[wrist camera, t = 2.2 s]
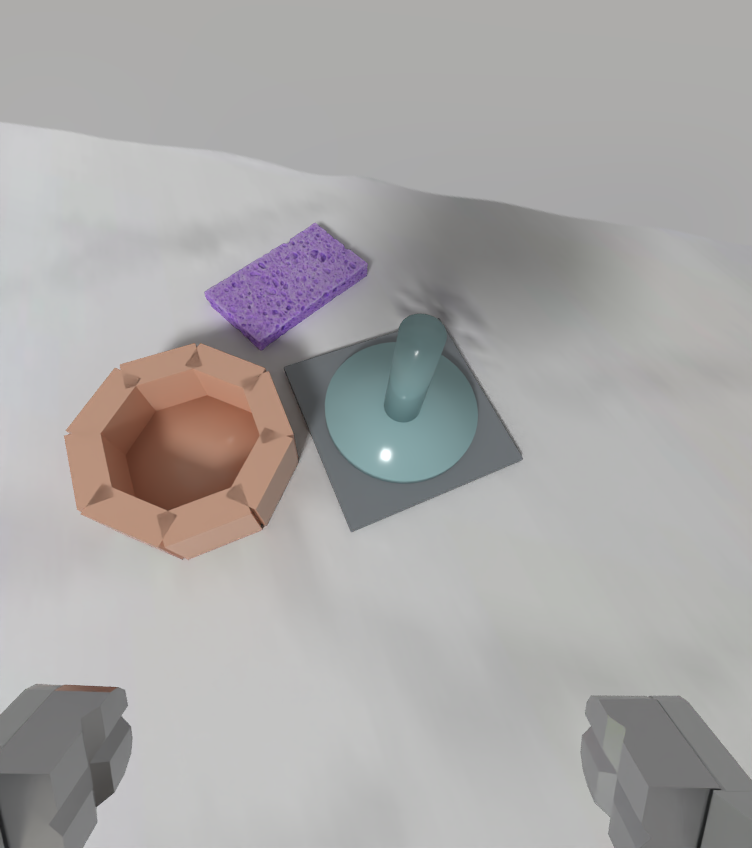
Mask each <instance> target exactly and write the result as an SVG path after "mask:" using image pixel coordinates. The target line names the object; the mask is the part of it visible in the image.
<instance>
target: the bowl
mask: <svg viewBox="0 0 752 848" xmlns="http://www.w3.org/2000/svg"><path fill="white" fill-rule="evenodd" d="M120 368H121V370H119V369H117V368H114V369H113V371H112V372H111V373H110V375H109V376H108V377H107V378H106V380H105V381H104V382H103V384H102V385H101V386H100V387H99V389H98V390H97V391H96V392H95V394H94V395H93V396H92V398H91V399H90V400H89V401H88V403H87V404H86V405H85V407H84V408H83V409H82V410H81V412H80V413H79V414H78V415H77V417H76V418H75V419H74V421H73V422H72V423H71V424H70V426H69V427H68V428H67V430H66V431H67V432H68V433H70V434H68V435H65V436H64V438H65V444H66V449H67V455H68V461H69V466H70V472H71V478H72V483H73V489H74V495H75V500H76V506H77V510H79V511H81V512H82V513H81V514H82V515H84V516H86V517H88V518H90V519H92V520H94V521H96V522H98V523H101V524H103V525H105V526H107V527H109V528H111V529H113V530H115V531H118V532H120V533H122V534H125V535H127V536H129V537H132V538H134V539H136V540H138V541H141V542H143V543H145V544H148V545H150V546H152V547H155V548H157V549H159V550H162V551H164V552H166V553H168V554H171V555H173V556H175V557H178V558H180V559H182V560H183V558H186V559H191V558H193V557H196V556H198V555H201V554H203V553H206V552H208V551H211V550H213V549H216V548H218V547H221V546H223V545H226V544H228V543H231V542H233V541H236V540H238V539H241V538H243V537H246V536H248V535H251V534H253V533H256V532H258V531H261V530H262V527H261V524H263V525H265V526H267V524H268V522H269V520H270V518H271V516H272V514H273V512H274V510H275V508H276V506H277V504H278V502H279V500H280V498H281V496H282V494H283V492H284V490H285V488H286V486H287V484H288V482H289V480H290V478H291V476H292V474H293V472H294V470H295V468H296V466H297V464H298V453H297V449H296V444H295V439H294V435H293V432H292V429H291V426H290V424H289V421H288V419H287V416H286V414H285V411H284V409H283V406H282V404H281V401H280V399H279V396H278V393H277V391H276V388H275V386H274V383H273V381H272V378H271V376H270V373H269V371H268V372H266V369H265V368H264V367H261V366H259V365H256V364H253V363H251V362H248V361H246V360H243V359H240V358H238V357H235V356H232V355H230V354H227V353H225V352H222V351H219V350H217V349H214V348H212V347H209V346H206V345H204V344H201V343H200V344H199V345H198V347H197V346H196V344H195V343H193V344H190V345H186V346H183V347H179V348H176V349H172V350H169V351H165V352H162V353H158V354H155V355H151V356H148V357H144V358H141V359H137V360H134V361H131V362H127V363H124V364H120Z"/></svg>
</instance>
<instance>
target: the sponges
mask: <svg viewBox="0 0 752 848" xmlns="http://www.w3.org/2000/svg"><path fill="white" fill-rule="evenodd" d="M367 266H368V263H367V262H365V261H364V260H363V259H361V258H360V257H358V255H356V254H355V253H354V252H352V251H351V250H350V249H345V247H344V245H343V244H342V243H340V242H339V241H338V240H337V239H334V238H333V237H332V236H331V235H330V234H329V233H327V232H326V231H325V230H324V229H323V228H321V227H320V226H319V225H318V224H316V223H314V224H312V225H311V226H310V227H308V228H306V229H305V230H304V231H302V232H300V233H299V234H297V235H296V236H295V237H293V238H291V239H290V242H289V243H287V244H285V243H283V244H282V245H280V246H279V247H276V248H274V249H272V250H271V251H270V252H269V253H268V254H265V255H263V256H262V257H261V258H258V259H257V260H255V261H253V262H252V263H250V264H248V265H247V266H245V267H244V268H243V269H241V270H239V271H237V272H236V273H234V274H232V275H231V276H230V277H228V278H227V279H225V280H223V281H221V282H219V283H218V284H217V285H215V286H213V287H211V288H210V289H208V290H206V291H205V292H204V293H205V297H206V299H207V300H208V301H209V302H210V303H211V306H212V307H213V308H214V309H215V310H216V311H217V312H219V313H220V314H221V315H222V316H223V317H224V318H225V319H226V320H227V321H229V322H230V323H231V324H232V325H233V326H235V327H236V328H237V329H239V330H240V331H241V332H242V333H243V335H244V336H245V337H247V338H248V339H249V340H250V341H251V342H252V343H253V344H254V345H255V346H256V347H257V348H258V349H260V350H263V349H264V348H265V347H266V346H268V345H269V344H270V343H272V342H273V341H275V340H276V339H278V338H279V337H280V336H281V335H283V334H285V333H286V332H287V331H288V330H289V329H291V328H293V327H294V326H296V325H297V324H298V323H300V322H301V321H302V320H304V319H305V318H307V317H308V316H310V315H311V314H313V313H314V312H315V311H317V310H318V309H320V308H321V307H322V306H324V305H325V304H327V303H328V302H330V301H331V300H332V299H333V298H335V297H336V296H337V295H340V294H341V293H343V292H344V291H346V290H347V289H348V288H350V287H351V286H353V285H354V284H356V283H357V282H359V281H360V280H361V279H363V278H364V277H365V276H367Z"/></svg>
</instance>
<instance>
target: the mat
mask: <svg viewBox="0 0 752 848" xmlns="http://www.w3.org/2000/svg"><path fill="white" fill-rule="evenodd" d="M438 320H439V321H440V319H439V318H438ZM440 322H441V321H440ZM441 323H442V322H441ZM446 332H447V331H446ZM397 336H398V331H397V332H394V333H391V334H387V335H384V336H381V337H378V338H375V339H372V340H368V341H365V342H362V343H359V344H356V345H353V346H349V347H346V348H343V349H340V350H337V351H334V352H330V353H327V354H324V355H321V356H318V357H315V358H311V359H308V360H305V361H302V362H299V363H296V364H292V365H289V366H286V367H284V370H285V372H286V375H287V377H288V380H289V382H290V385H291V387H292V390H293V392H294V394H295V397H296V399H297V402H298V404H299V407H300V409H301V411H302V414H303V416H304V419H305V421H306V424H307V426H308V428H309V431H310V433H311V436H312V438H313V441H314V443H315V446H316V448H317V450H318V453H319V455H320V458H321V460H322V463H323V465H324V467H325V470H326V472H327V475H328V477H329V480H330V482H331V484H332V487H333V489H334V492H335V494H336V497H337V499H338V501H339V504H340V506H341V509H342V511H343V514H344V516H345V519H346V521H347V523H348V526H349V528H350V531H351V532H353V531H356V530H358V529H360V528H363V527H365V526H367V525H370V524H372V523H375V522H377V521H379V520H382V519H384V518H386V517H389V516H391V515H393V514H396V513H398V512H401V511H403V510H405V509H408V508H410V507H412V506H415V505H417V504H420V503H422V502H424V501H427V500H429V499H431V498H434V497H436V496H438V495H441V494H443V493H446V492H448V491H450V490H453V489H455V488H457V487H460V486H462V485H465V484H467V483H469V482H472V481H474V480H476V479H479V478H481V477H483V476H486V475H488V474H491V473H493V472H495V471H498V470H500V469H502V468H505V467H507V466H509V465H512V464H514V463H517V462H519V461H521V460H522V459H523V458H522V456H521V454H520V453H519V451H518V449H517V448H516V446H515V444H514V443H513V441H512V439H511V438H510V436H509V434H508V432H507V431H506V429H505V427H504V426H503V424H502V422H501V421H500V419H499V417H498V416H497V414H496V412H495V411H494V409H493V407H492V406H491V404H490V402H489V401H488V399H487V397H486V396H485V394H484V392H483V391H482V389H481V387H480V386H479V384H478V382H477V381H476V379H475V377H474V376H473V374H472V372H471V371H470V369H469V367H468V366H467V364H466V362H465V361H464V359H463V357H462V356H461V354H460V352H459V351H458V349H457V347H456V346H455V344H454V342H453V341H452V339H451V337H450V336H449V334H448V332H447V340H446V343H445V346H444V348H443V351H442V354H441V355H443V356H444V357H446V358H447V359H448V360H450V361H451V362H452V363H453V364H454V365H455V366H457V367H458V368H459V370H460V371H461V372H462V373H463V374H464V376H465V377H466V379H467V380H468V382H469V383H470V385H471V387H472V389H473V392H474V395H475V398H476V402H477V407H478V422H477V428H476V432H475V435H474V438H473V440H472V442H471V444H470V446H469V448H468V449H467V451H466V452H465V454H464V455H463V456H462V457H461V459H460V460H459V461H458V462H457V463H456V464H455V465H454V466H453V467H452V468H451V469H449V470H448V471H446V472H445V473H443V474H441V475H439V476H437V477H435V478H433V479H430V480H427V481H423V482H418V483H408V484H401V483H391V482H386V481H382V480H379V479H376V478H373V477H371V476H369V475H366V474H364V473H363V472H361V471H360V470H358V469H356V468H355V467H354V466H352V465H351V464H350V463H349V462H348V461H347V460H346V459H345V458H344V457H343V456H342V455H341V454H340V452H339V451H338V450H337V448H336V447H335V445H334V443H333V441H332V439H331V437H330V435H329V432H328V429H327V424H326V418H325V399H326V393H327V389H328V386H329V383H330V381H331V379H332V377H333V375H334V374H335V372H336V371H337V370H338V368H339V367H340V366H341V365H342V364H343V363H344V362H345V361H346V360H347V359H348V358H349V357H351V356H352V355H354V354H355V353H357V352H359V351H361V350H363V349H365V348H367V347H370V346H373V345H377V344H381V343H389V342H396V341H397Z"/></svg>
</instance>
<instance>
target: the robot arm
mask: <svg viewBox="0 0 752 848" xmlns="http://www.w3.org/2000/svg"><path fill="white" fill-rule="evenodd" d="M127 706H128V703H127V698H126V693H125V690H124V689H122V688H119V687H103V686H81V685H45V684H35V685H33V686H31V687H29V688H27V689H25V690H24V691H23V692H22V693H21V694H20V695H19V696H18V697H17V698H16V699H15V700H14V701H13V702H12V703H11V704H10V705H9V706H8V707H7V708H6V710H5V711H4V712H3V713H2V714H1V715H0V848H83V847H84V845H85V843H86V841H87V840H88V838H89V836H90V834H91V833H92V831H93V829H94V827H95V826H96V824H97V806H98V805H100V804H101V803H102V802H103V801H104V800H106V799H107V798H108V797H109V796H111V795H112V794H113V793H114V792H115V790H116V789H117V787H118V785H119V783H120V781H121V779H122V778H123V776H124V774H125V771H126V768H127V765H128V761H129V758H130V755H131V749H132V731H131V726H130V725H129V724H128V723H127V722H126V721H125V720H124V719H123V717H122V716H121V715H122V714H123V712H124V711H125V709H126V708H127ZM585 715H586V717H587V719H588V721H589V723H590V725H591V727H590V728H589V729H588V730H587V731H586V732H585V733H584V734H583V735H582V741H581V760H582V767H583V772H584V776H585V779H586V783H587V786H588V788H589V791H590V793H591V795H592V798H593V800H594V803H595V804H596V805H597V806H599V807H600V808H601V809H602V810H603V811H604V812H605V813H606V814H607V815H608V816H609V817H610V824H609V831H608V835H609V837H610V839H611V841H612V844H613V846H614V848H752V780H751V779H750V778H749V776H748V775H747V774H746V773H745V771H744V770H743V769H742V768H741V766H740V765H739V764H738V763H737V761H736V760H735V759H734V758H733V757H732V755H731V754H730V753H729V752H728V750H727V749H726V748H725V747H724V745H723V744H722V743H721V742H720V740H719V739H718V738H717V737H716V736H715V734H714V733H713V732H712V731H711V729H710V728H709V727H708V726H707V724H706V723H705V722H704V721H703V719H702V718H701V717H700V716H699V714H698V713H697V712H696V711H695V710H694V708H693V707H692V706H691V705H690V703H689V702H688V701H687V700H685V699H684V698H682V697H681V696H649V697H647V696H592V695H591V696H590V698H589V699H588V701H587V704H586V710H585Z"/></svg>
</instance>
